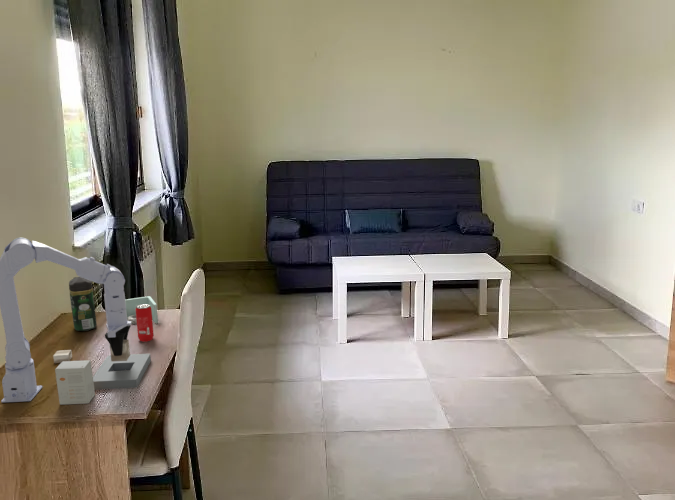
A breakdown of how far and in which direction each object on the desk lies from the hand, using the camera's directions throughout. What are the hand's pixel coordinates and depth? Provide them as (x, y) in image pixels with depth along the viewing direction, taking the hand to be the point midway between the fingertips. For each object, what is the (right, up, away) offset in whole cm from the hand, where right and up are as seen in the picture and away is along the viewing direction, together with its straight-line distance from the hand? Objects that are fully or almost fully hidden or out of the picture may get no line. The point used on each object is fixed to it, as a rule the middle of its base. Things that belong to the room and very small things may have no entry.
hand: (120, 352), depth 198 cm
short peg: (-23, -5, +15) cm, 28 cm away
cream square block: (0, -2, 0) cm, 2 cm away
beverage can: (-1, -1, +31) cm, 31 cm away
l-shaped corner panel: (-10, +3, +50) cm, 52 cm away
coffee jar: (-27, +2, +45) cm, 52 cm away
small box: (-7, -11, -15) cm, 20 cm away
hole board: (0, -7, +2) cm, 7 cm away
